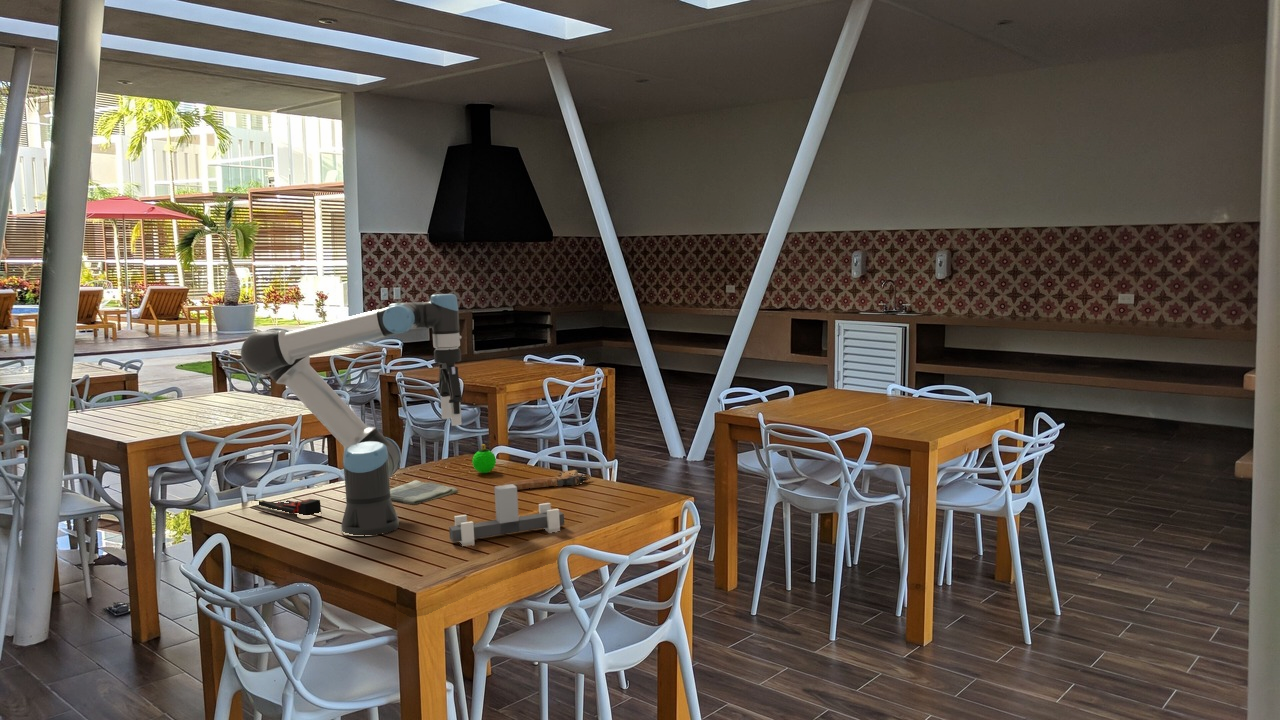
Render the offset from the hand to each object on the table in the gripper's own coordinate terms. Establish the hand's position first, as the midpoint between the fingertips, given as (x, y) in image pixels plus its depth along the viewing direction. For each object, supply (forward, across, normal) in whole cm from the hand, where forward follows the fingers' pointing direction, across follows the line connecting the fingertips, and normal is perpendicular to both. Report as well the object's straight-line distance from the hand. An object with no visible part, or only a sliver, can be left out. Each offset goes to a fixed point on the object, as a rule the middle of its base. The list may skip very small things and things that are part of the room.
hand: (451, 421), depth 268 cm
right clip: (+27, -30, -18) cm, 44 cm away
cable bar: (+26, -30, -7) cm, 40 cm away
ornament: (+27, +47, -20) cm, 58 cm away
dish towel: (+28, +28, +6) cm, 40 cm away
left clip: (+27, -30, +4) cm, 40 cm away
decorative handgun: (+27, +21, -34) cm, 48 cm away
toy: (+27, +30, +45) cm, 61 cm away
